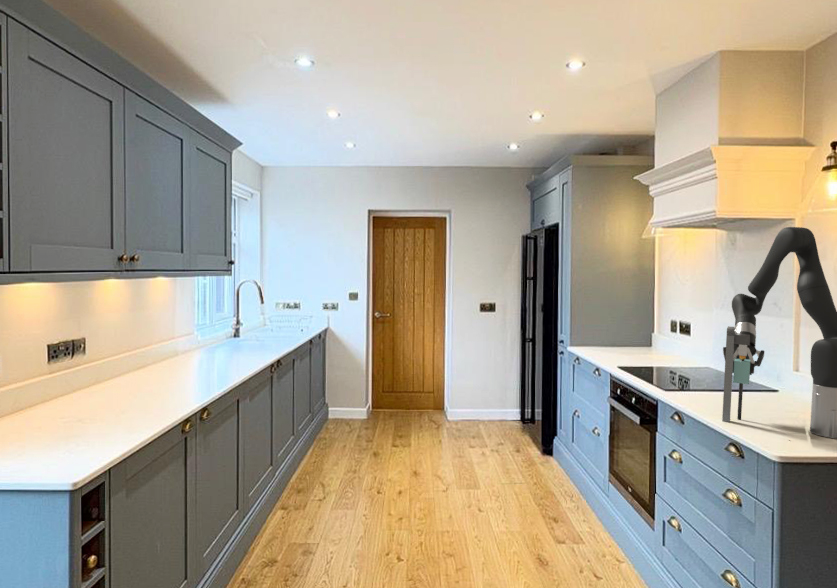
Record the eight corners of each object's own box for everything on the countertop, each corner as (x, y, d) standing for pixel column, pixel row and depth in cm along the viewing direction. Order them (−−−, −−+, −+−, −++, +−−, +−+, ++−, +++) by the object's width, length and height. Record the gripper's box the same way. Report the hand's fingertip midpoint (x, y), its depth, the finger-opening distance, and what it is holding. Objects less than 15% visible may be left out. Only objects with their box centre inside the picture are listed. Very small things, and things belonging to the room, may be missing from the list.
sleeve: (734, 379, 213) (735, 358, 212) (749, 380, 210) (750, 359, 210) (733, 382, 207) (734, 360, 207) (748, 384, 205) (750, 362, 204)
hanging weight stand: (723, 419, 212) (728, 326, 210) (745, 422, 209) (750, 327, 206) (722, 424, 206) (726, 328, 204) (744, 427, 202) (750, 330, 200)
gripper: (723, 329, 218) (719, 364, 209) (766, 332, 211) (765, 369, 201) (723, 341, 223) (719, 376, 214) (765, 344, 216) (764, 381, 206)
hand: (741, 372), depth 208 cm, fingers closed on sleeve, 5 cm apart
